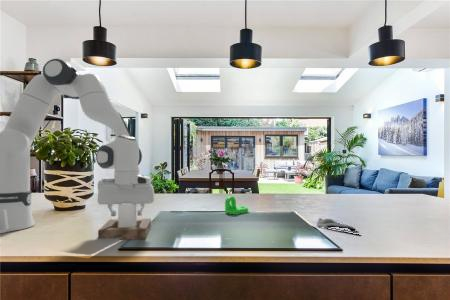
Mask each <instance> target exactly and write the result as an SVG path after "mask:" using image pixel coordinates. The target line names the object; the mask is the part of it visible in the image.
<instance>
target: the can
mask: <svg viewBox="0 0 450 300" xmlns="http://www.w3.org/2000/svg"><path fill="white" fill-rule="evenodd" d="M117 209H118V210H117V211H118V214H117V215H118V216H117V217H118V218H117V219H118V228H124V227H136V219H137V204H131V203H130V202H122V204H118V205H117Z"/></svg>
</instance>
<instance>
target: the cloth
mask: <svg viewBox="0 0 450 300" xmlns="http://www.w3.org/2000/svg"><path fill="white" fill-rule="evenodd" d="M323 219H324V220H323ZM335 221H336V220H334V219H332V218H321V217H320V218H318V220H317V223H316V226H317V227H318V226H319V227H318V228H320V227H324V228H331V227H339V228H348V229H351V230H353V229H354V230H356V231H357V229H356V228H355V227H353V226H350V225H348V224H344V223H342V224H340V223H337V222H335ZM324 228H323V229H324ZM331 229H336V228H331ZM336 230H340V229H336ZM354 230H353V231H348V230H345V229H344V230H341V231H348V232H353V233H358V232H356V231H354Z"/></svg>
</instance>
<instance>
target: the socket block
mask: <svg viewBox="0 0 450 300" xmlns="http://www.w3.org/2000/svg"><path fill="white" fill-rule="evenodd" d="M151 221H152V219H151V218H150V217H149V218H136V227H124V228H118V218H117V219H116V218H115V219H108V220H107V221H106V222H105V224H103V225H102V226H101V227H100V228H99V229H98V230H97V233H98V234H97V238H98V239H118V238H119V241H125V240H126V241H129V239H131V240H147V238H148V235H149V233H150V230H151V227H152V222H151Z"/></svg>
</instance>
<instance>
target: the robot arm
mask: <svg viewBox="0 0 450 300" xmlns="http://www.w3.org/2000/svg"><path fill="white" fill-rule="evenodd" d="M59 96H61V97H62V98H63V99H70V100H71V99H72V100H79V104H80V107H81V110H82V112H83V114H84V115H85V116H86V117H87V118H89V119H90V120H91V121H94V122H97V123H99V124H102V125H104V126H106V127H108V128H109V129H110V130H112V131H113V133H114V135H115V138H114V139H113V140H112V141H110V142H108V143H106V144H103V145H100V146H99V148H98V149H97V151H96V154H95V160H96V163H97V164H98V167H100V168H101V169H104V170H113V171H114V178H102V179H100V180H99V181H98V182H97V190H98V193H97V194H98V195H97V203H98V204H99V205H107V208H108V210H109V211H110V216H111V217H116V216H117V210H115V209H114V208H113V207H114V205H119V204H122V202H130V203H131V204H136V205H137V204H140V207H141V208H140V209H138V210H136V216H141V217H142V216H143V210H144V209H145V207H146V204H152V203H154V202H155V189H154V186H153V183H151V182H152V177H151V176H148V175H145V174H141V173H140V168H139V165H140V164H141V162H142V158H143V155H142V153H143V152H142V150H141V149H140V144H139V141H138V139H137V138H136V137H134V136H132V133H131V132H130V130H129V127H128V126H127V123H126V121H125V119H124V118H123V116H122V114H121V113H120V112H119V111H118V110H117V109H116V108H115V106H114V105H113V104H112V102H111V99H110V98H109V95H108V92H107V90H106V87H105V85H104V83H103V81H102V80H101V78H100V77H99V76H98V75H96V74H94V73H84V74H81V73H80V72H79V71H78V70H77V69H76V68H75V67H74V66H72V65H71V64H70V63H69V62H67V61H65V60H63V59H60V58H52V59H49V60H48V61H46V62H45V63H44V66H43V67H42V74H37V75H34V76H33V77H32V79H31V80H30V81H29V82H28V84H26V86H25V87H24V89H23V91H22V92H21V95H20V97H18V100H17V101H16V104H15V105H14V107H13V108H12V111H11V113H10V115H9V118H8V120H7V122H6V124H5V126H4V128H3V130H2V131H0V234H4V233H10V232H13V231H19V230H23V229H24V230H25V229H29V228H31V227H34V226H35V224H36V223H35V221H34V217H33V212H32V201H33V199H32V190H31V146H32V144H33V142H34V140H35V138H36V136H37V134H38V133H39V130H40V129H41V126H42V124H43V122H44V121H45V119H46V117H47V116H48V113H49V111H50V109H51V107H52V105H53V103H54V101H55V99H56V98H57V97H59Z"/></svg>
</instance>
